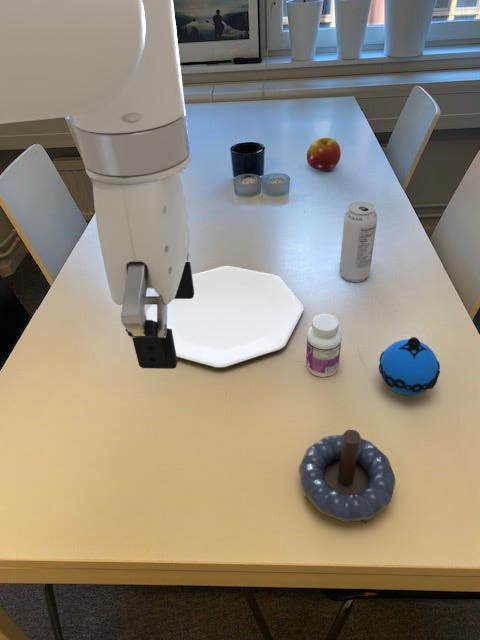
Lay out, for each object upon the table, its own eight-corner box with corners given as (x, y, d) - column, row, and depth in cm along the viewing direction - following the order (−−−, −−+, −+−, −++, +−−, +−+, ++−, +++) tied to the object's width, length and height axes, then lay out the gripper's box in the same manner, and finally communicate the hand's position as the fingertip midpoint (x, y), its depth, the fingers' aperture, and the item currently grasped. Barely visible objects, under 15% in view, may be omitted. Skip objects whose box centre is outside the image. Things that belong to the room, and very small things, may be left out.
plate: (173, 389, 78) (172, 383, 77) (136, 295, 98) (135, 289, 97) (326, 339, 85) (326, 333, 84) (262, 261, 105) (262, 255, 104)
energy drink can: (353, 263, 102) (361, 196, 93) (375, 276, 99) (385, 208, 89) (332, 274, 100) (338, 206, 90) (354, 287, 96) (362, 218, 86)
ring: (380, 540, 57) (383, 528, 55) (286, 503, 61) (286, 490, 59) (400, 461, 65) (404, 447, 63) (316, 433, 69) (317, 419, 67)
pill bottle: (307, 353, 83) (309, 308, 77) (339, 356, 82) (344, 311, 75) (304, 376, 79) (305, 331, 72) (337, 380, 78) (342, 334, 71)
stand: (366, 523, 60) (376, 476, 53) (304, 497, 63) (307, 450, 56) (383, 471, 65) (394, 422, 58) (325, 449, 68) (330, 401, 61)
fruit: (316, 177, 136) (318, 148, 131) (300, 166, 142) (300, 138, 137) (346, 169, 139) (348, 141, 133) (328, 159, 145) (330, 131, 140)
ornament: (364, 384, 77) (371, 337, 70) (399, 359, 80) (409, 311, 74) (409, 417, 71) (422, 369, 65) (445, 388, 75) (460, 340, 69)
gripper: (116, 107, 41) (149, 275, 52) (35, 198, 28) (103, 399, 39) (204, 105, 41) (219, 275, 52) (164, 197, 27) (196, 401, 38)
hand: (169, 328), depth 45 cm, fingers open, 9 cm apart
